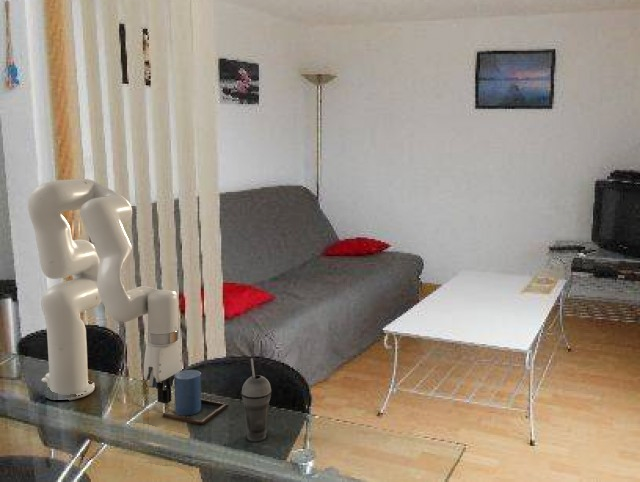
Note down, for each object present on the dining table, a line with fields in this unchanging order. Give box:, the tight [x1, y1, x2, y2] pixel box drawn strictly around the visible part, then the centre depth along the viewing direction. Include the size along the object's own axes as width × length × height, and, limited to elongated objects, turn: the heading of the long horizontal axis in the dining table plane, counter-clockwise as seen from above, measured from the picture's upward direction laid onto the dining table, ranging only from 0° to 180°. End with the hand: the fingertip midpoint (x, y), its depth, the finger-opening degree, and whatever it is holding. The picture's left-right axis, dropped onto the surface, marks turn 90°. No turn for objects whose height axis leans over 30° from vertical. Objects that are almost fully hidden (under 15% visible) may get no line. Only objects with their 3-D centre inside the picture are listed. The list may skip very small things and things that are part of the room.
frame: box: [162, 397, 229, 426], centre depth 161 cm, size 12×12×1 cm
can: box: [173, 369, 202, 417], centre depth 161 cm, size 7×7×10 cm
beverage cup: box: [240, 357, 273, 442], centre depth 148 cm, size 7×7×20 cm
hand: (164, 401), depth 164 cm, fingers closed
